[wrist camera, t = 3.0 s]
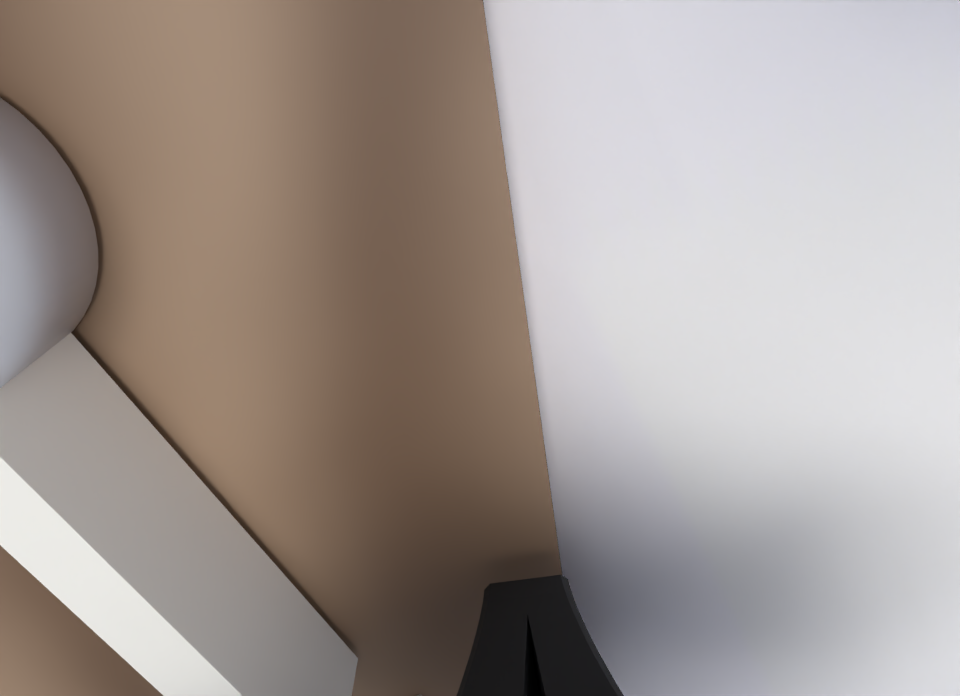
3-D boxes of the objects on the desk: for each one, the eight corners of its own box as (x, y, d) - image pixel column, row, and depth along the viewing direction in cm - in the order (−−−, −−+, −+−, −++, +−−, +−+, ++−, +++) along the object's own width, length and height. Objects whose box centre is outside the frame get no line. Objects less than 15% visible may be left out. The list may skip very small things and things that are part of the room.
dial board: (438, -309, 8) (433, -357, 7) (580, 710, 16) (587, 758, 15) (-758, -72, 9) (-917, -84, 8) (-84, 787, 17) (-120, 838, 16)
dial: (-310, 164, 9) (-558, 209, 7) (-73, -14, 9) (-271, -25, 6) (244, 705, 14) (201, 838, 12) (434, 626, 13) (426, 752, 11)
